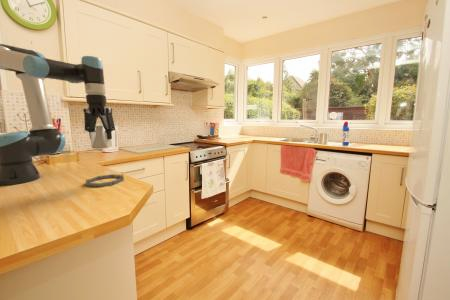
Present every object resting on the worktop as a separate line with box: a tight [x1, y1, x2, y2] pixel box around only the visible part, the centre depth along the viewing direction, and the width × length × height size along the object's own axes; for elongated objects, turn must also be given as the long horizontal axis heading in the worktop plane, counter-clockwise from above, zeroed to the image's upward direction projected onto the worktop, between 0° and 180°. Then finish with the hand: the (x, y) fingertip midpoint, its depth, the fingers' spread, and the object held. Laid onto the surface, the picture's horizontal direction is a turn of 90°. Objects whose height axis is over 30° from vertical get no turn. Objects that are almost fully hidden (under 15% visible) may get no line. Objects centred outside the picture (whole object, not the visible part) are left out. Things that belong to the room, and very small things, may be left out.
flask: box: [91, 125, 109, 149], centre depth 95 cm, size 7×7×10 cm
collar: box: [85, 173, 125, 188], centre depth 98 cm, size 15×15×2 cm
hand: (101, 146), depth 96 cm, fingers closed on flask, 7 cm apart
